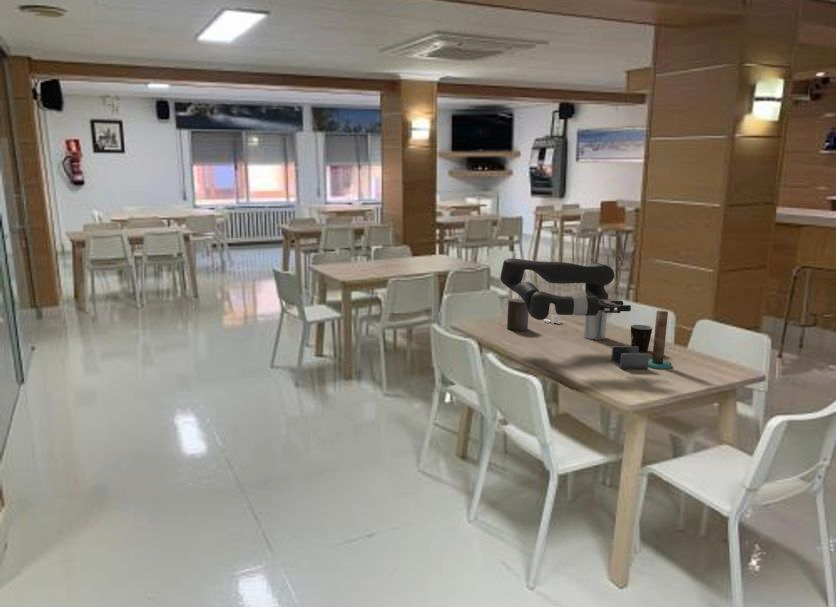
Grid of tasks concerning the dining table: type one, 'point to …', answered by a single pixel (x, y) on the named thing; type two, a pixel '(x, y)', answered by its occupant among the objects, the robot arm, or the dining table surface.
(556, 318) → the teacup and saucer
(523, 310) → the pillar candle
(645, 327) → the coffee mug
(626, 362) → the metal channel
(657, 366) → the teal mat
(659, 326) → the walnut dowel
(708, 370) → the dining table surface
